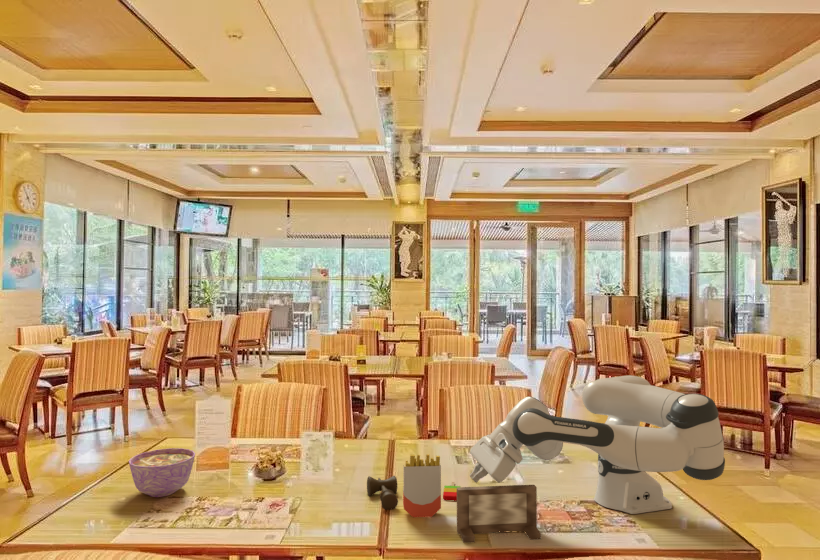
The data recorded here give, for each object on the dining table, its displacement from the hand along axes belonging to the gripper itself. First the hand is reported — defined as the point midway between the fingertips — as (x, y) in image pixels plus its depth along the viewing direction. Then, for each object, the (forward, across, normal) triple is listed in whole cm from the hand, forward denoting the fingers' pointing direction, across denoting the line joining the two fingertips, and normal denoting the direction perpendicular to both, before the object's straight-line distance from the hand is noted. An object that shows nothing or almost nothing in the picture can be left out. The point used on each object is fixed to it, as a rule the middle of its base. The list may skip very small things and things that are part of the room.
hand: (472, 479), depth 158 cm
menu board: (+5, +12, +10) cm, 17 cm away
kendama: (+25, -21, -8) cm, 33 cm away
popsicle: (+10, -21, +9) cm, 25 cm away
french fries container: (+18, -6, -2) cm, 19 cm away
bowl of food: (+73, -41, -59) cm, 102 cm away
